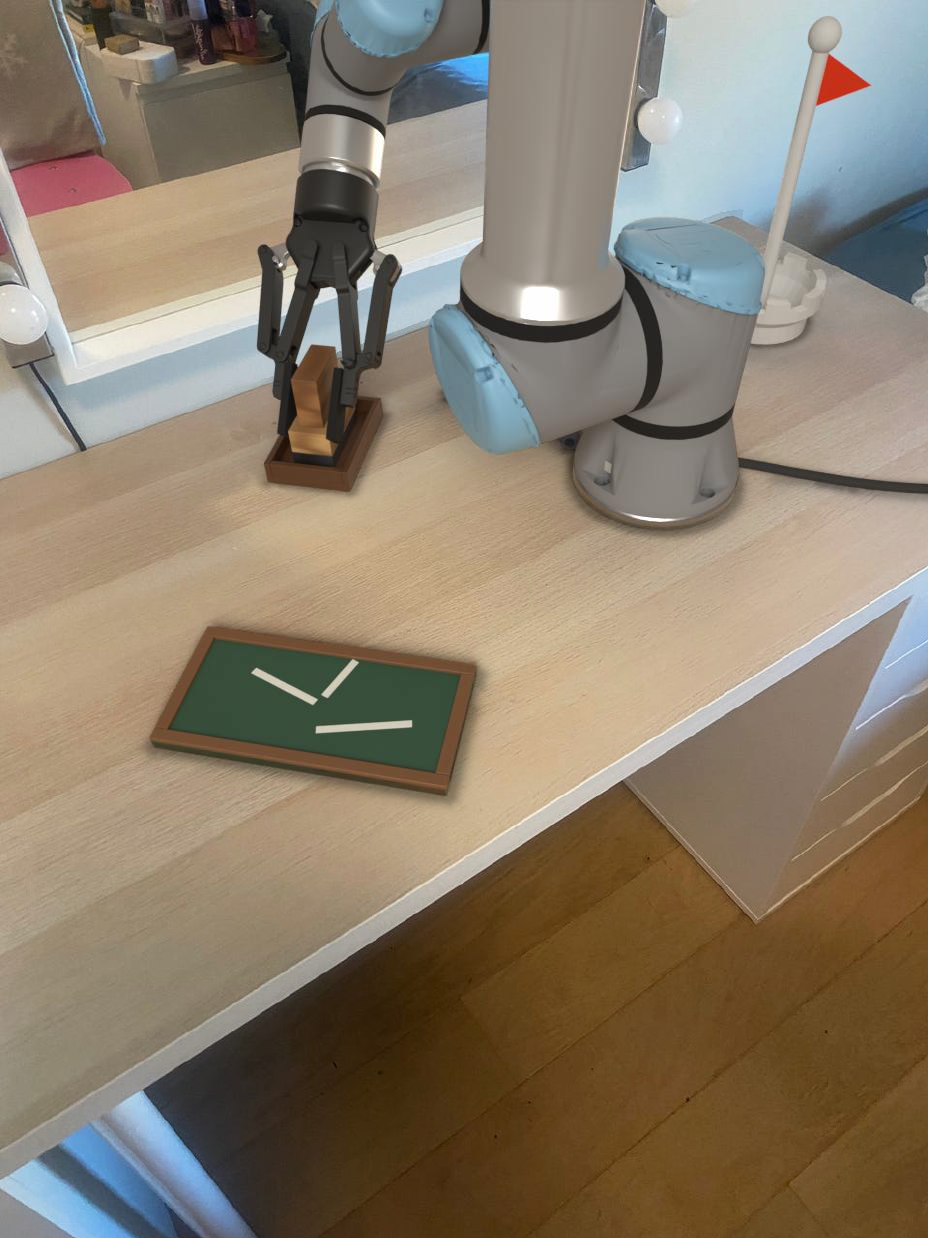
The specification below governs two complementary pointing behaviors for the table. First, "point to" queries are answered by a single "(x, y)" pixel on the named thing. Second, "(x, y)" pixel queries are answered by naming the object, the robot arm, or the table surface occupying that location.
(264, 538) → the table surface
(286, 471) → the shallow brown tray
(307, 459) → the eraser
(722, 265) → the robot arm
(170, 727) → the chalkboard
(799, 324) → the flag stand
